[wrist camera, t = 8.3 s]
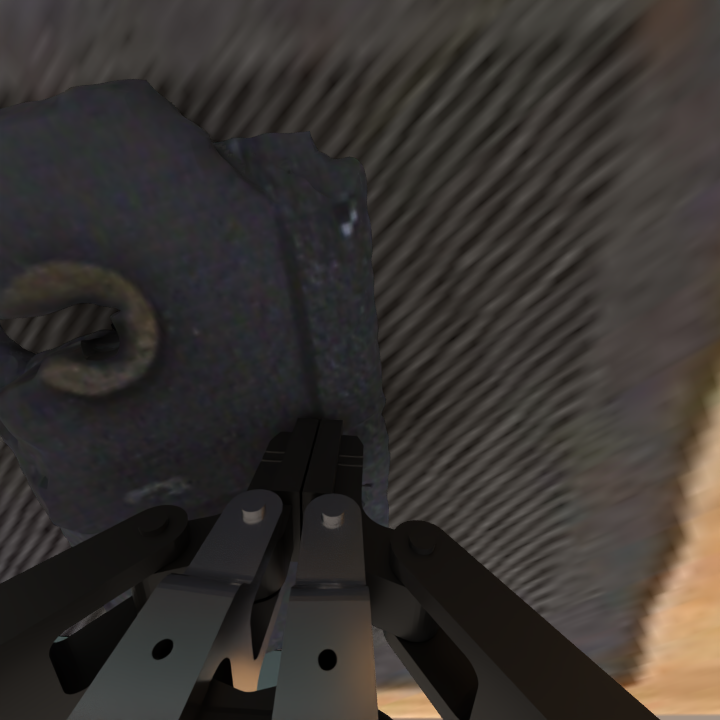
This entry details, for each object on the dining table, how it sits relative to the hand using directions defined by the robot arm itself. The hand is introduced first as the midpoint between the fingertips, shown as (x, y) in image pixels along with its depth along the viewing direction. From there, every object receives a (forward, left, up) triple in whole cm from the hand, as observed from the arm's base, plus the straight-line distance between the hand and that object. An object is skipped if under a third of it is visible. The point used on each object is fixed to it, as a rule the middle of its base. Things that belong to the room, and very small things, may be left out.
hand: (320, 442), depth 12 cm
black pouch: (+1, -5, -3) cm, 6 cm away
